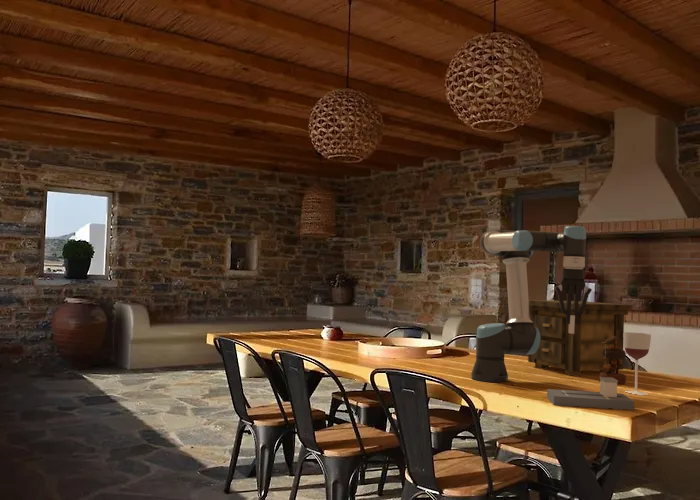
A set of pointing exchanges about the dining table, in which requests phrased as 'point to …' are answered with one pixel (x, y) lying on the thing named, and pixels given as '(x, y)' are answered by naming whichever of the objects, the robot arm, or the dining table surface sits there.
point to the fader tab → (608, 387)
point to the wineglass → (636, 351)
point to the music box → (609, 356)
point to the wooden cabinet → (576, 335)
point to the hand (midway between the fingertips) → (571, 333)
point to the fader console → (589, 399)
